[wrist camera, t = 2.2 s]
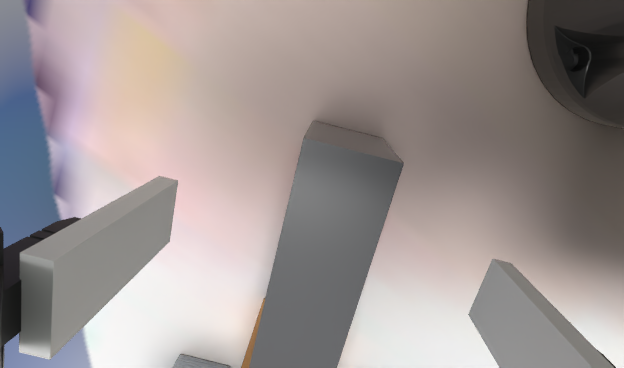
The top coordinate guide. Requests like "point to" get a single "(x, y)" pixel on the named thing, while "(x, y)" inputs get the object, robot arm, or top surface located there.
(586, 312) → the top surface
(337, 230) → the grey and orange block
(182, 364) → the housing
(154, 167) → the top surface
